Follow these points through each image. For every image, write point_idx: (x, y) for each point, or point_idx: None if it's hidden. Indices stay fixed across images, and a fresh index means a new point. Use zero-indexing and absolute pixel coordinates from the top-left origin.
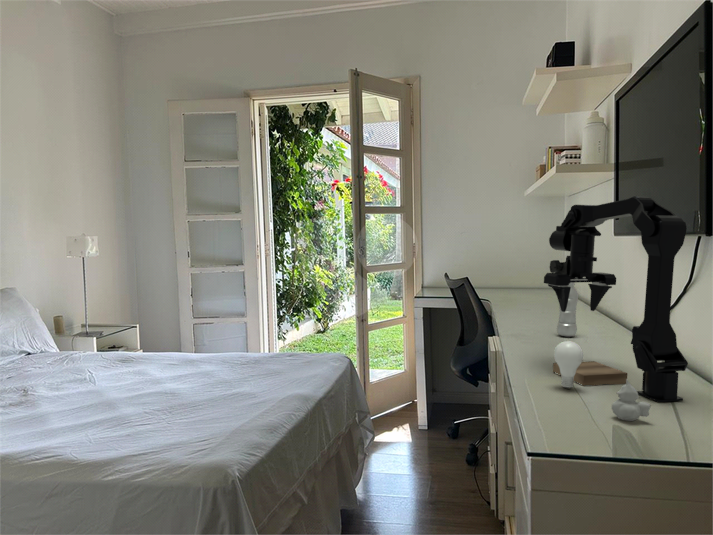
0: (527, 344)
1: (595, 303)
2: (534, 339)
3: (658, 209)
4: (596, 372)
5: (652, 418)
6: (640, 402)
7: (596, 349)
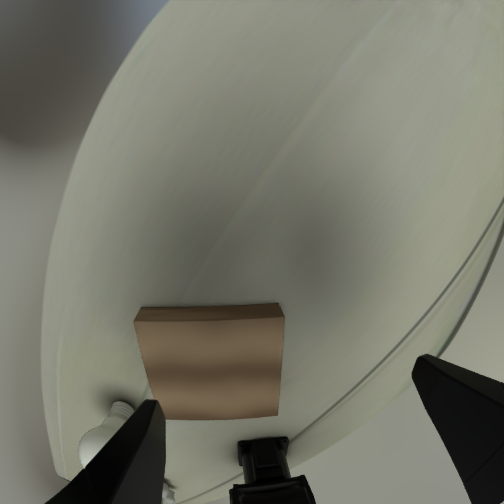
0: None
1: (434, 420)
2: None
3: None
4: (205, 408)
5: (188, 483)
6: (164, 501)
7: (442, 83)
